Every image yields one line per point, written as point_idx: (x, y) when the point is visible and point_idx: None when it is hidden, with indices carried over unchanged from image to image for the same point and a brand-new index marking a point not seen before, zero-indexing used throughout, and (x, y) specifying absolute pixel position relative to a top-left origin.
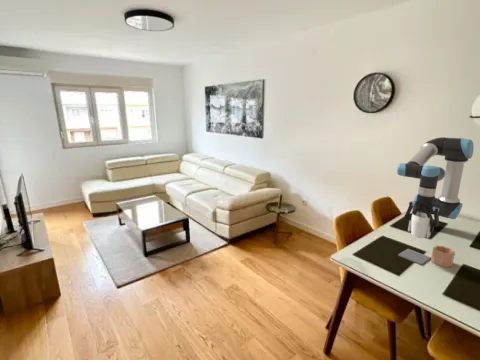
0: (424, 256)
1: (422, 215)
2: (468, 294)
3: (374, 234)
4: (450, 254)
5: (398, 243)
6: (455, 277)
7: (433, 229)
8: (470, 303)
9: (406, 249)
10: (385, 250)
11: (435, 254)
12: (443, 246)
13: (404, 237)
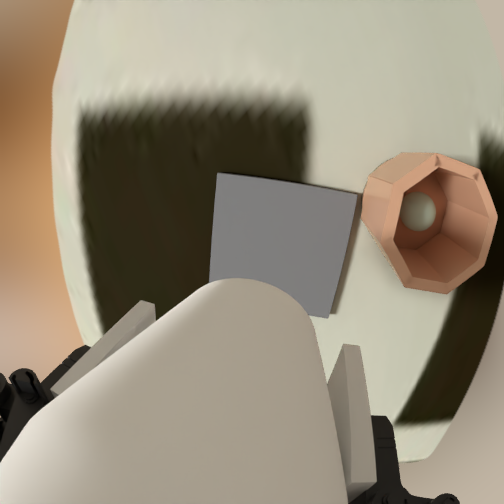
0: (325, 212)
1: (46, 480)
2: (460, 382)
3: (58, 139)
4: (472, 271)
5: (156, 131)
6: (452, 311)
7: (392, 450)
8: (450, 411)
9: (216, 196)
10: (151, 277)
11: (392, 267)
12: (439, 165)
13: (158, 26)
